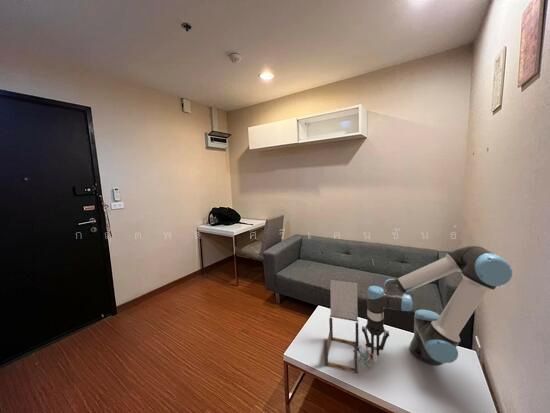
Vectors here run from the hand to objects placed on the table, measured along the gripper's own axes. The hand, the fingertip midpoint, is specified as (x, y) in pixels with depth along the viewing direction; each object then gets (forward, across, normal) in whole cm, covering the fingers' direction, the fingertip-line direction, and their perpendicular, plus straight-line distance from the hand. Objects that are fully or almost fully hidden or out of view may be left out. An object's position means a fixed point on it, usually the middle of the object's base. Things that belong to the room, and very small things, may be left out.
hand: (374, 359), depth 114 cm
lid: (-23, +16, -13) cm, 31 cm away
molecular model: (+2, +6, 0) cm, 6 cm away
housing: (+2, +16, 0) cm, 16 cm away
